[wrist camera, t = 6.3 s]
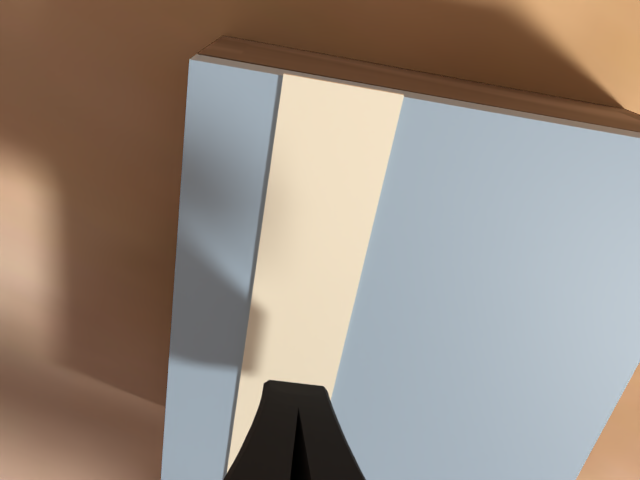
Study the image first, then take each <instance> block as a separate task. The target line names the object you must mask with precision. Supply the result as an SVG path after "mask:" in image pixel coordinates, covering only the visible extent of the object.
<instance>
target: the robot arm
mask: <svg viewBox="0 0 640 480" xmlns="http://www.w3.org/2000/svg"><path fill="white" fill-rule="evenodd" d="M223 480H366V479H365V477H364V475H363V473H362V471H361V469H360V467H359V465H358V463H357V461H356V459H355V457H354V455H353V453H352V451H351V449H350V447H349V445H348V442H347V440H346V438H345V436H344V433H343V431H342V429H341V426H340V424H339V422H338V419H337V417H336V414H335V411H334V409H333V406H332V403H331V400H330V397H329V394H328V391H327V390H326V388H325V387H324V386H319V385H310V384H302V383H293V382H285V381H276V380H268V381H267V382H265V383H264V385H263V391H262V396H261V400H260V403H259V407H258V409H257V412H256V415H255V417H254V420H253V422H252V425H251V427H250V429H249V431H248V433H247V436H246V438H245V440H244V442H243V444H242V446H241V448H240V450H239V452H238V454H237V456H236V458H235V460H234V462H233V463H232V465H231V467H230V469H229V471H228V472H227V474H226V476H225V478H224V479H223Z"/></svg>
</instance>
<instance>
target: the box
mask: <svg viewBox="0 0 640 480" xmlns="http://www.w3.org/2000/svg"><path fill="white" fill-rule="evenodd" d="M198 55H204V56H210V57H215V58H221V59H227V60H232V61H238V62H244V63H249V64H255V65H261V66H266V67H272V68H278V69H283V70H289V71H295V72H300V73H306V74H312V75H317V76H323V77H329V78H334V79H340V80H346V81H351V82H357V83H363V84H368V85H374V86H380V87H385V88H391V89H397V90H402V91H408V92H414V93H419V94H425V95H431V96H436V97H442V98H448V99H453V100H459V101H465V102H470V103H476V104H482V105H487V106H493V107H499V108H504V109H510V110H516V111H521V112H527V113H533V114H538V115H544V116H550V117H555V118H561V119H567V120H572V121H578V122H584V123H589V124H595V125H601V126H606V127H612V128H618V129H623V130H629V131H635V132H640V115H639V114H637V113H634V112H632V111H629V110H626V109H621V108H616V107H610V106H605V105H599V104H594V103H588V102H583V101H577V100H572V99H566V98H561V97H555V96H550V95H544V94H539V93H534V92H528V91H523V90H517V89H512V88H506V87H501V86H495V85H490V84H484V83H479V82H473V81H468V80H462V79H457V78H451V77H446V76H441V75H435V74H430V73H424V72H419V71H413V70H408V69H402V68H397V67H391V66H386V65H380V64H375V63H369V62H364V61H358V60H353V59H348V58H342V57H337V56H331V55H326V54H320V53H315V52H309V51H304V50H298V49H293V48H287V47H282V46H276V45H271V44H266V43H260V42H255V41H249V40H244V39H238V38H233V37H227V36H222V37H220V38H219V39H218V40H216V41H215V42H213V43H212V44H210V45H209V46H207V47H206V48H204V49H203V50H201V51H200V52H199V53H198Z"/></svg>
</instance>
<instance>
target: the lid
mask: <svg viewBox="0 0 640 480" xmlns="http://www.w3.org/2000/svg"><path fill="white" fill-rule="evenodd" d="M639 362H640V132H635V131H629V130H623V129H618V128H612V127H606V126H601V125H595V124H589V123H584V122H578V121H572V120H567V119H561V118H555V117H550V116H544V115H538V114H533V113H527V112H521V111H516V110H510V109H504V108H499V107H493V106H487V105H482V104H476V103H470V102H465V101H459V100H453V99H448V98H442V97H436V96H431V95H425V94H419V93H414V92H408V91H402V90H397V89H391V88H385V87H380V86H374V85H368V84H363V83H357V82H351V81H346V80H340V79H334V78H329V77H323V76H317V75H312V74H306V73H300V72H295V71H289V70H283V69H278V68H272V67H266V66H261V65H255V64H249V63H244V62H238V61H232V60H227V59H221V58H215V57H210V56H204V55H198V54H196V55H194V56H193V57H192V58H190V59H189V72H188V86H187V101H186V116H185V131H184V145H183V160H182V175H181V190H180V204H179V219H178V234H177V248H176V263H175V278H174V293H173V307H172V322H171V337H170V352H169V366H168V381H167V396H166V410H165V425H164V440H163V455H162V469H161V480H223V479H224V478H225V476H226V474H227V472H228V471H229V469H230V467H231V465H232V463H233V462H234V460H235V458H236V456H237V454H238V452H239V450H240V448H241V446H242V444H243V442H244V440H245V438H246V436H247V433H248V431H249V429H250V427H251V425H252V422H253V420H254V417H255V415H256V412H257V409H258V407H259V403H260V400H261V396H262V391H263V385H264V383H265V382H267V381H268V380H276V381H285V382H293V383H302V384H310V385H319V386H324V387H325V388H326V390H327V391H328V394H329V397H330V400H331V403H332V406H333V409H334V411H335V414H336V417H337V419H338V422H339V424H340V426H341V429H342V431H343V433H344V436H345V438H346V440H347V442H348V445H349V447H350V449H351V451H352V453H353V455H354V457H355V459H356V461H357V463H358V465H359V467H360V469H361V471H362V473H363V475H364V477H365V479H366V480H576V478H577V476H578V474H579V472H580V471H581V469H582V467H583V465H584V463H585V461H586V460H587V458H588V456H589V454H590V452H591V450H592V448H593V447H594V445H595V443H596V441H597V439H598V437H599V436H600V434H601V432H602V430H603V428H604V426H605V425H606V423H607V421H608V419H609V417H610V415H611V413H612V412H613V410H614V408H615V406H616V404H617V402H618V401H619V399H620V397H621V395H622V393H623V391H624V390H625V388H626V386H627V384H628V382H629V380H630V378H631V377H632V375H633V373H634V371H635V369H636V367H637V366H638V364H639Z"/></svg>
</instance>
